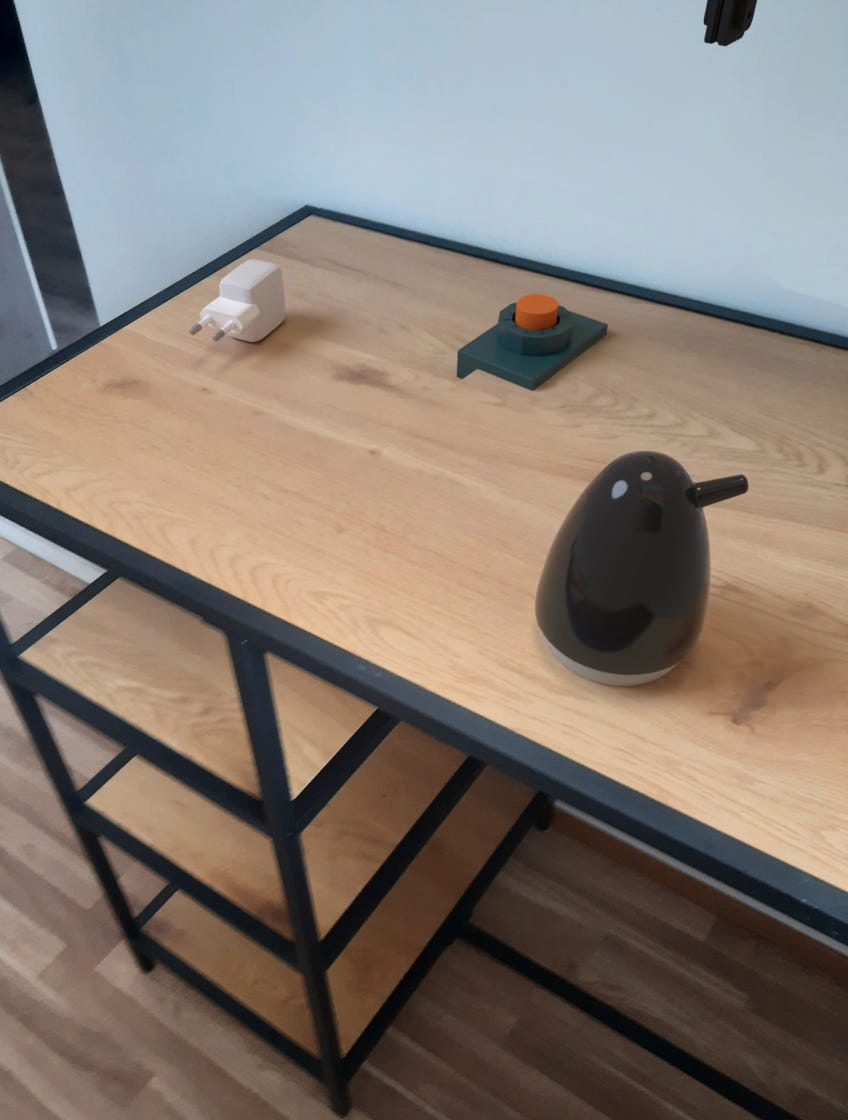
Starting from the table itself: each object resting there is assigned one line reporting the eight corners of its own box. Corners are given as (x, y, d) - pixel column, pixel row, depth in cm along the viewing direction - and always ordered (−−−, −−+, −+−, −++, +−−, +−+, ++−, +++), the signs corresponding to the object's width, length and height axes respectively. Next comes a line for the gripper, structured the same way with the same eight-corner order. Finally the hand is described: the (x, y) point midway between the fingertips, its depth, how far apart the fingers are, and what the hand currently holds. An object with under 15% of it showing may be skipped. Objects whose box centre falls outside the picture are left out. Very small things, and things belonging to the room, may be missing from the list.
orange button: (530, 308, 84) (531, 289, 83) (564, 320, 83) (566, 301, 81) (506, 324, 82) (508, 305, 81) (541, 336, 81) (543, 317, 80)
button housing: (531, 324, 90) (536, 279, 87) (603, 351, 87) (611, 305, 83) (456, 377, 84) (458, 331, 81) (530, 408, 81) (535, 361, 77)
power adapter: (229, 375, 86) (220, 315, 81) (186, 363, 87) (175, 304, 83) (293, 320, 92) (288, 262, 88) (252, 310, 94) (245, 253, 90)
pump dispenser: (701, 719, 57) (772, 527, 46) (529, 707, 58) (558, 516, 47) (682, 602, 64) (740, 410, 53) (528, 593, 65) (553, 403, 54)
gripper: (957, -328, 53) (846, 45, 66) (712, -324, 60) (656, 13, 73) (910, -322, 49) (801, 72, 62) (654, -318, 56) (606, 36, 69)
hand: (723, 39), depth 68 cm, fingers closed
